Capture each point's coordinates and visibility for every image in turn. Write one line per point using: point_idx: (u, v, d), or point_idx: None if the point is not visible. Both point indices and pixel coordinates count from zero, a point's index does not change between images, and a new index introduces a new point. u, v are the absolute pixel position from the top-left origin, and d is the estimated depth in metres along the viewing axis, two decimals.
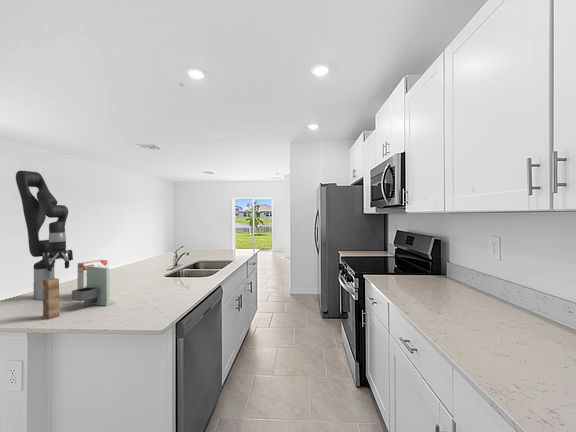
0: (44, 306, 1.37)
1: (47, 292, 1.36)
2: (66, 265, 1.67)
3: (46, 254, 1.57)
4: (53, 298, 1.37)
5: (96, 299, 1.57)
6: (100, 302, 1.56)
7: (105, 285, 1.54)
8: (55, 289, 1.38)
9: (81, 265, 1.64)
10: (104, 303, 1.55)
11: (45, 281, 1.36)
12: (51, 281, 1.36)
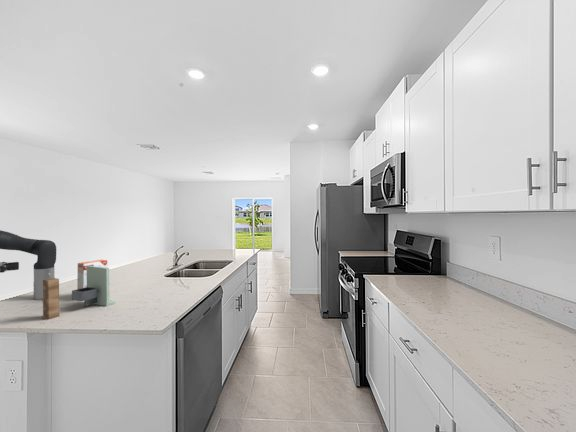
0: (44, 306, 1.37)
1: (47, 292, 1.36)
2: (13, 264, 1.32)
3: None
4: (53, 298, 1.37)
5: (96, 299, 1.57)
6: (100, 302, 1.56)
7: (105, 285, 1.54)
8: (55, 289, 1.38)
9: (81, 265, 1.64)
10: (104, 303, 1.55)
11: (45, 281, 1.36)
12: (51, 281, 1.36)
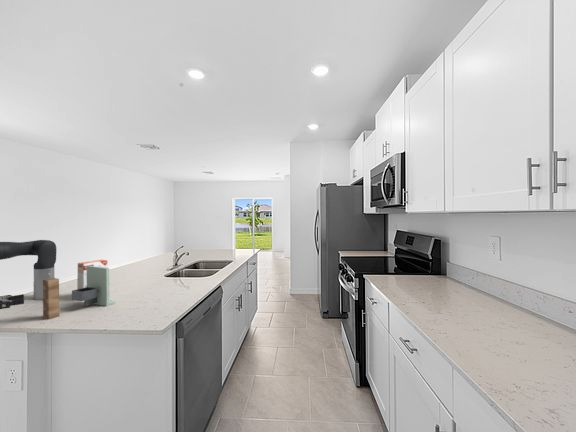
0: (44, 306, 1.37)
1: (47, 292, 1.36)
2: (18, 296, 1.34)
3: None
4: (53, 298, 1.37)
5: (96, 299, 1.57)
6: (100, 302, 1.56)
7: (105, 285, 1.54)
8: (55, 289, 1.38)
9: (81, 265, 1.64)
10: (104, 303, 1.55)
11: (45, 281, 1.36)
12: (51, 281, 1.36)
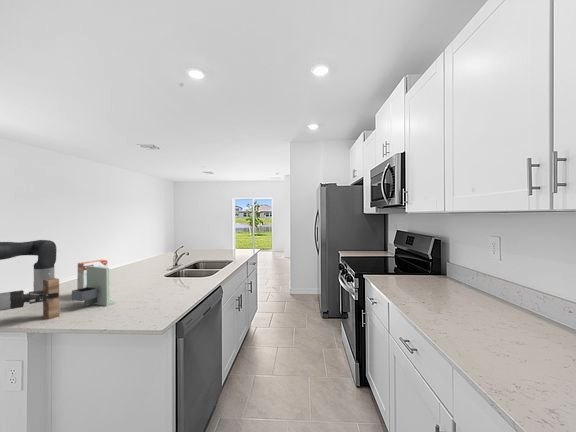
0: (44, 306, 1.37)
1: (47, 292, 1.36)
2: None
3: (32, 297, 1.29)
4: (53, 298, 1.37)
5: (96, 299, 1.57)
6: (100, 302, 1.56)
7: (105, 285, 1.54)
8: (55, 289, 1.38)
9: (81, 265, 1.64)
10: (104, 303, 1.55)
11: (45, 281, 1.36)
12: (51, 281, 1.36)
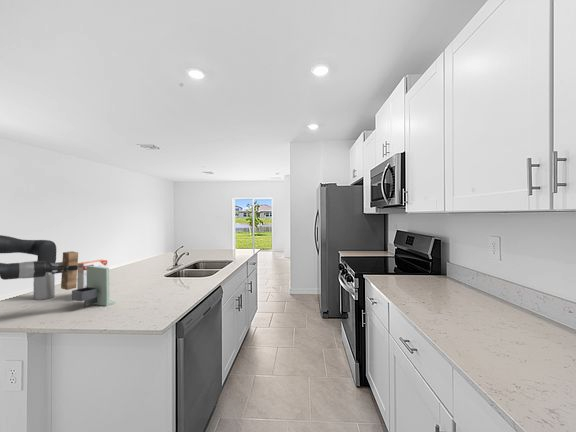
0: (63, 277, 1.44)
1: (67, 264, 1.43)
2: None
3: (54, 268, 1.36)
4: (72, 270, 1.45)
5: (96, 299, 1.57)
6: (100, 302, 1.56)
7: (105, 285, 1.54)
8: (74, 262, 1.45)
9: (81, 265, 1.64)
10: (104, 303, 1.55)
11: (65, 254, 1.43)
12: (71, 254, 1.44)
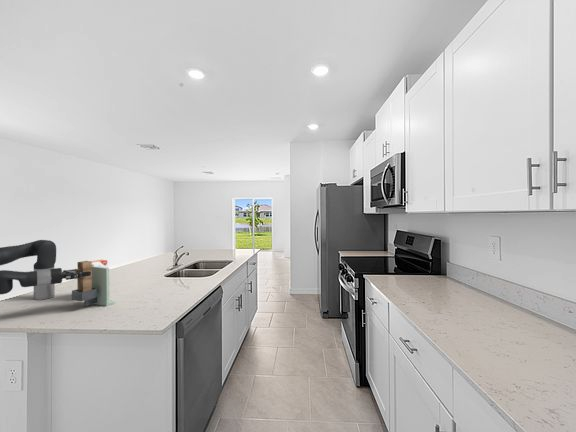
0: (79, 286, 1.50)
1: None
2: None
3: (68, 274, 1.42)
4: (87, 279, 1.50)
5: (96, 299, 1.57)
6: (100, 302, 1.56)
7: (105, 285, 1.54)
8: (88, 271, 1.51)
9: None
10: (104, 303, 1.55)
11: (80, 263, 1.49)
12: (85, 263, 1.50)
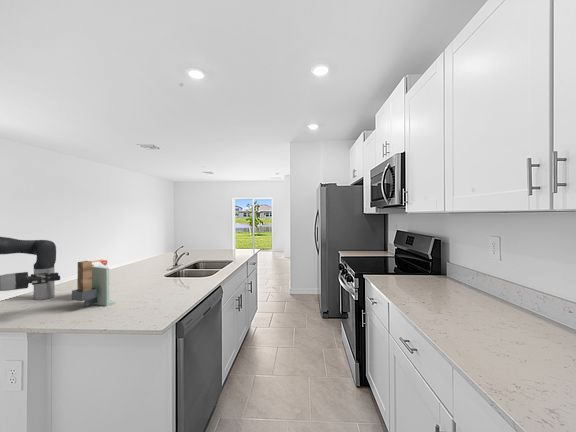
0: (79, 286, 1.50)
1: (82, 273, 1.49)
2: (54, 274, 1.46)
3: (34, 279, 1.34)
4: (87, 279, 1.50)
5: (96, 299, 1.57)
6: (100, 302, 1.56)
7: (105, 285, 1.54)
8: (88, 271, 1.51)
9: None
10: (104, 303, 1.55)
11: (80, 263, 1.49)
12: (85, 263, 1.50)
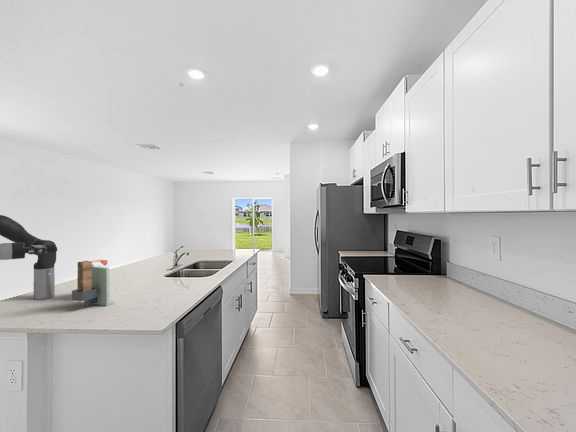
0: (79, 286, 1.50)
1: (82, 273, 1.49)
2: (51, 246, 1.46)
3: (31, 248, 1.33)
4: (87, 279, 1.50)
5: (96, 299, 1.57)
6: (100, 302, 1.56)
7: (105, 285, 1.54)
8: (88, 271, 1.51)
9: None
10: (104, 303, 1.55)
11: (80, 263, 1.49)
12: (85, 263, 1.50)
